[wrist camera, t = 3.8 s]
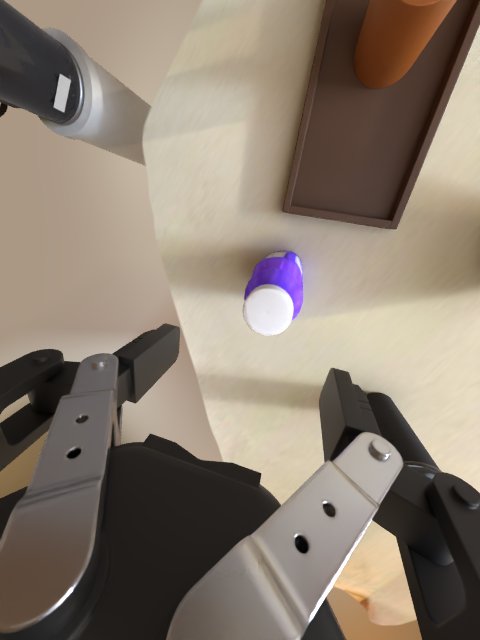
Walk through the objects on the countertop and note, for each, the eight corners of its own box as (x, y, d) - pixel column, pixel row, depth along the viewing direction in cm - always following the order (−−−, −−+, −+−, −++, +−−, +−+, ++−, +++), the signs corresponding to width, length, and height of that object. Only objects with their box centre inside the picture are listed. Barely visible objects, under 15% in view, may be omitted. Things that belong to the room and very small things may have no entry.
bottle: (263, 249, 33) (228, 269, 17) (303, 247, 32) (304, 267, 16) (264, 297, 36) (235, 352, 20) (301, 298, 34) (301, 356, 19)
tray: (283, 212, 31) (282, 211, 29) (375, -229, 18) (384, -281, 16) (390, 229, 28) (396, 229, 27) (585, -261, 16) (622, -326, 14)
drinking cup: (372, 429, 40) (430, 595, 22) (341, 400, 39) (375, 547, 21) (414, 408, 36) (523, 584, 18) (381, 377, 36) (461, 528, 18)
